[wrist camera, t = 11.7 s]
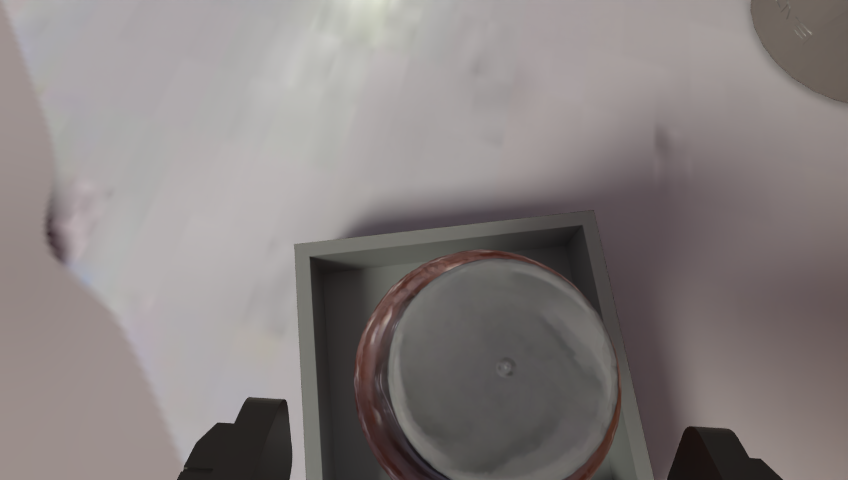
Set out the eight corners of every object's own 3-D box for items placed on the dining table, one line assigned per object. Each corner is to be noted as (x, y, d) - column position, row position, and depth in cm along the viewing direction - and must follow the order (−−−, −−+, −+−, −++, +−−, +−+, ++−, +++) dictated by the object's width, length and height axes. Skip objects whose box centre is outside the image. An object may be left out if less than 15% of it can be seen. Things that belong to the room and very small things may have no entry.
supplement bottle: (442, 279, 21) (461, 142, 11) (575, 370, 20) (747, 321, 10) (348, 410, 20) (258, 408, 9) (486, 516, 19) (568, 654, 8)
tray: (572, 235, 22) (593, 210, 20) (632, 523, 19) (667, 542, 16) (311, 265, 22) (294, 244, 19) (329, 562, 19) (311, 589, 16)
